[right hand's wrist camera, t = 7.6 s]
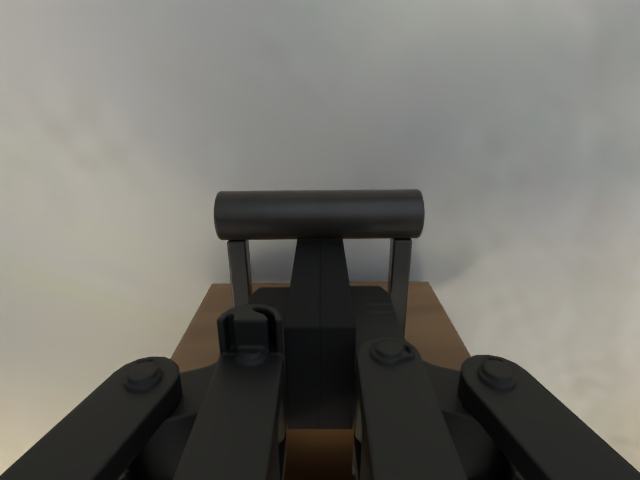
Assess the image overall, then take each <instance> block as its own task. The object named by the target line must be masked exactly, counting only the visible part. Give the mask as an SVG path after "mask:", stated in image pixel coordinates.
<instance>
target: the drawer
mask: <svg viewBox="0 0 640 480" xmlns="http://www.w3.org/2000/svg"><path fill="white" fill-rule="evenodd" d="M214 223H215V229H216V233H217V236H218V238H219V239H221V240H228V242H227V247H228V258H229V268H230V278H231V284H212V285H211V287H210V289H209V290H208V292H207V294H206V296H205V298H204V299H203V301H202V303H201V305H200V307H199V308H198V310H197V312H196V314H195V316H194V317H193V319H192V321H191V323H190V325H189V327H188V328H187V330H186V332H185V334H184V336H183V337H182V339H181V341H180V343H179V345H178V346H177V348H176V350H175V352H174V354H173V355H172V357H171V360H174V362H175V363H176V364H177V365H178V366H179V371H180V373H181V372H186V371H190V370H195V369H199V368H203V367H206V366H209V365H212V364H214V363H216V362H217V361H218V359H219V356H220V347H219V338H218V328H217V319H218V318H219V317H220V315H221V314H222V313H224V312H225V311H227V310H229V309H231V308H234V307H237V306H240V305H246V304H248V301H249V298H250V295H251V294H253V293H254V292H255V291H256V290H257V289H259V288H260V287H290V284H291V283H252V280H251V267H250V254H249V242H248V240H277V239H380V238H391V242H390V259H389V277H388V282H349V284H350V286H381V287H382V288H383V289H384V290H385V291H387V292H388V293H389V294H390V297H391V299H392V302H393V306H394V308H395V311H396V314H397V317H398V320H399V322H400V325H401V328H402V331H403V334H404V337H405V340H406V341H407V342H409V343H410V344H412V345H413V346H415V348H416V349H417V350H418V352H419V353H420V356H421V358H422V360H423V361H426V362H428V363H430V364H433V365H436V366H440V367H444V368H448V369H453V370H458V371H461V364H462V363H463V362H464V361H465V360H466V359H467V358H470V357H471V355H470V354H469V352H468V350H467V348H466V347H465V345H464V343H463V341H462V340H461V338H460V336H459V335H458V333H457V331H456V329H455V328H454V326H453V324H452V322H451V321H450V319H449V317H448V315H447V314H446V312H445V310H444V308H443V307H442V305H441V303H440V301H439V300H438V298H437V296H436V294H435V293H434V291H433V289H432V288H431V286H430V284H429V282H409V274H410V261H411V248H412V240H411V238H418V237H420V236H421V233H422V230H423V226H424V201H423V196H422V193H421V191H420V190H418V189H402V190H300V191H220V192H218V194H217V196H216V199H215V204H214ZM286 438H287V454H286V465H285V476H284V480H356V476H355V475H352V464H353V438H354V427H353V428H352V429H286Z"/></svg>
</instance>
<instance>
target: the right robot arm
mask: <svg viewBox="0 0 640 480" xmlns="http://www.w3.org/2000/svg"><path fill="white" fill-rule="evenodd" d="M217 328H218V338H219V347H220V356H219V359H218V361H217V362H216V363H214V364H212V365H209V366H206V367H203V368H199V369H195V370H190V371H186V372H181V373H180V371H179V366H178V365H177V364H176V363H175V362H174V360H171V359H168V358H165V357H148V358H142V359H138V360H136V361H133V362H131V363H128V364H126V365H124V366H123V367H121V368H120V369H118V370H117V371H116V372H114V373H113V374H112V375H111V376H110V377H109V378H108V379H106V380H105V381H104V382H103V383H102V384H101V385H100V386H99V387H98V388H97V389H95V390H94V391H93V392H92V393H91V394H90V395H89V396H88V397H87V398H85V399H84V400H83V401H82V402H81V403H80V404H79V405H78V406H77V407H76V408H74V409H73V410H72V411H71V412H70V413H69V414H68V415H67V416H66V417H65V418H63V419H62V420H61V421H60V422H59V423H58V424H57V425H56V426H55V427H53V428H52V429H51V430H50V431H49V432H48V433H47V434H46V435H45V436H44V437H42V438H41V439H40V440H39V441H38V442H37V443H36V444H35V445H34V446H33V447H31V448H30V449H29V450H28V451H27V452H26V453H25V454H24V455H23V456H21V457H20V458H19V459H18V460H17V461H16V462H15V463H14V464H13V465H12V466H10V467H9V468H8V469H7V470H6V471H5V472H4V473H3V474H2V475H1V476H0V480H284V476H285V465H286V454H287V438H286V429H352V428H353V427H354V438H353V464H352V475H355V476H356V480H640V473H639V472H638V471H637V470H636V469H635V468H634V467H633V466H632V465H631V464H629V463H628V462H627V461H626V460H625V459H624V458H623V457H622V456H621V455H619V454H618V453H617V452H616V451H615V450H614V449H613V448H612V447H611V446H609V445H608V444H607V443H606V442H605V441H604V440H603V439H602V438H601V437H599V436H598V435H597V434H596V433H595V432H594V431H593V430H592V429H591V428H589V427H588V426H587V425H586V424H585V423H584V422H583V421H582V420H581V419H579V418H578V417H577V416H576V415H575V414H574V413H573V412H572V411H571V410H569V409H568V408H567V407H566V406H565V405H564V404H563V403H562V402H561V401H559V400H558V399H557V398H556V397H555V396H554V395H553V394H552V393H550V392H549V391H548V390H547V389H546V388H545V387H544V386H543V385H542V384H540V383H539V382H538V381H537V380H536V379H535V378H534V377H533V376H532V375H530V374H529V373H528V372H527V371H526V370H525V369H523V368H522V367H520V366H519V365H517V364H516V363H514V362H511V361H509V360H507V359H504V358H501V357H497V356H491V355H476V356H473V357H470V358H467V359H466V360H465V361H464V362H463V363H462V364H461V371H458V370H453V369H448V368H444V367H440V366H436V365H433V364H430V363H428V362H426V361H423V360H422V358H421V356H420V353H419V352H418V350H417V349H416V348H415V346H413V345H412V344H410V343H409V342H407V341H406V340H405V337H404V334H403V331H402V328H401V325H400V322H399V320H398V317H397V314H396V311H395V308H394V306H393V302H392V299H391V297H390V294H389V293H388V292H387V291H385V290H384V289H383V288H382V287H381V286H350V284H349V278H348V271H347V265H346V258H345V252H344V246H343V239H297V245H296V252H295V258H294V265H293V271H292V277H291V284H290V287H260V288H259V289H257V290H256V291H255V292H254V293H253V294H251V295H250V298H249V301H248V304H246V305H240V306H237V307H234V308H231V309H229V310H227V311H225V312H224V313H222V314H221V315H220V317H219V318H218V319H217Z"/></svg>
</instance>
